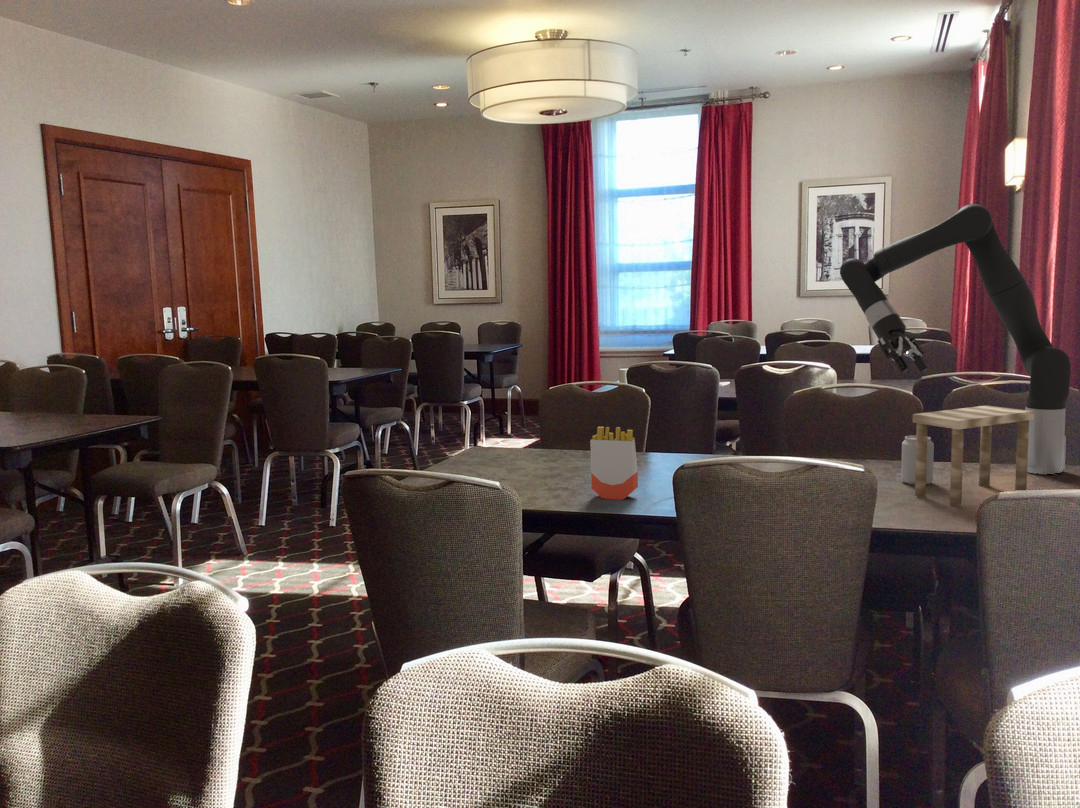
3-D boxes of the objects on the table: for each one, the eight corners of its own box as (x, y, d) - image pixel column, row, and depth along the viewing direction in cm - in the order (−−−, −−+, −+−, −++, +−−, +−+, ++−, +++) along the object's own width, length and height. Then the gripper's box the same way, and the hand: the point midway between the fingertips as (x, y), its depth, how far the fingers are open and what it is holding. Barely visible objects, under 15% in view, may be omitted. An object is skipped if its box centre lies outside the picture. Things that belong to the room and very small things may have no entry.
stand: (983, 483, 222) (985, 405, 220) (1030, 493, 211) (1034, 411, 208) (910, 496, 212) (912, 414, 210) (956, 507, 200) (959, 420, 198)
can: (936, 486, 222) (937, 439, 220) (904, 486, 223) (905, 439, 221) (928, 479, 229) (929, 434, 227) (898, 479, 230) (899, 434, 229)
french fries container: (597, 493, 225) (595, 424, 223) (638, 496, 221) (637, 425, 219) (591, 497, 221) (589, 427, 219) (633, 500, 217) (631, 428, 214)
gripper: (879, 311, 232) (910, 362, 225) (910, 313, 240) (941, 362, 233) (858, 328, 237) (888, 378, 230) (889, 329, 245) (919, 378, 238)
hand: (915, 370), depth 232 cm, fingers open, 8 cm apart
